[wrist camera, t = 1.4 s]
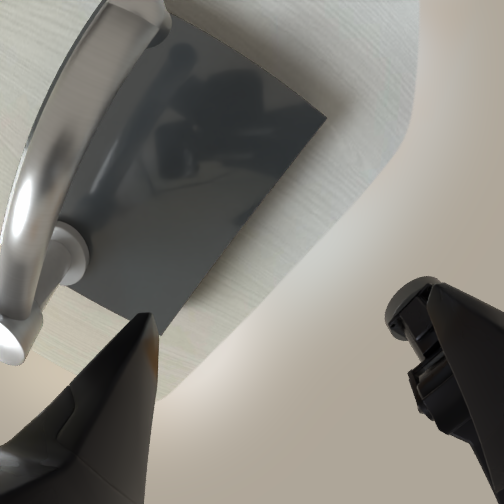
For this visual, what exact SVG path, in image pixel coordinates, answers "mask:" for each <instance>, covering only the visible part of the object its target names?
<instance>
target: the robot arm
mask: <svg viewBox="0 0 504 504" xmlns="http://www.w3.org/2000/svg"><path fill="white" fill-rule="evenodd" d="M388 327H389V328H390V329H391V330H393V331H394V332H396V333H398V334H399V335H401V336H402V337H404V338H406V339H407V340H408V341H409V343H410V344H411V346H412V348H413V349H414V351H415V353H416V354H417V356H418V358H419V360H420V361H421V363H420V364H419V365H418V366H416V367H415V368H414V369H413V370H410V371H409V372H408V376H409V382H410V385H411V388H412V390H413V393H414V396H415V399H416V402H417V406H418V411H419V412H420V413H422V414H425V415H426V416H427V417H428V418H429V419H430V420H432V421H435V423H436V425H437V427H438V429H439V430H440V431H442V432H443V433H445V434H447V435H452V436H454V437H456V438H458V439H460V440H463V441H465V442H467V443H469V444H470V446H471V447H472V449H473V451H474V453H475V455H476V457H477V459H478V461H479V463H480V465H481V466H482V469H483V471H484V473H485V475H486V477H487V480H488V481H489V484H490V486H491V488H492V490H493V492H494V495H495V497H496V499H497V501H498V503H499V504H504V312H502V311H500V310H498V309H496V308H494V307H493V306H491V305H489V304H487V303H485V302H483V301H481V300H479V299H477V298H475V297H473V296H471V295H469V294H467V293H464V292H463V291H460V290H459V289H456V288H454V287H452V286H450V285H448V284H446V283H437V284H434V285H432V284H431V283H427V284H426V285H425V286H424V287H423V288H422V289H421V290H420V291H419V292H418V293H417V294H416V295H415V296H414V297H413V298H412V299H411V300H410V301H409V302H408V303H407V305H406V306H405V307H404V308H403V309H402V310H401V311H400V312H399V313H398V314H397V315H396V316H395V317H394V318H393V319H392V320H390V321H389V323H388ZM158 353H159V334H158V330H157V327H156V323H155V320H154V316H153V314H152V313H150V312H143V313H138V314H137V315H136V316H135V317H134V318H133V319H132V320H131V321H130V322H129V323H128V324H127V325H126V326H125V327H124V328H123V329H122V330H121V331H120V332H119V333H118V334H117V335H116V336H115V337H114V338H113V339H112V340H111V341H110V342H109V343H108V344H107V345H106V346H105V347H104V348H103V349H102V350H101V351H100V352H99V353H98V354H97V355H96V356H95V357H94V359H93V360H92V361H91V362H90V363H89V364H88V365H87V366H86V367H85V368H84V369H83V370H82V371H81V372H80V373H79V374H78V375H77V376H76V377H75V378H74V380H73V381H72V382H71V383H70V384H69V385H70V386H67V387H66V388H65V389H64V390H63V391H62V392H61V393H60V394H59V395H58V396H57V397H56V398H55V399H54V400H53V402H51V404H50V405H49V406H47V407H46V408H45V409H44V410H43V411H42V412H41V413H40V414H39V415H38V416H37V417H36V418H34V419H33V420H32V421H31V422H30V423H29V424H28V425H27V426H25V427H24V428H23V429H22V430H21V431H20V432H19V433H18V434H17V435H16V436H14V437H13V438H12V439H11V440H10V441H8V442H7V443H5V444H4V445H1V446H0V504H144V495H145V483H146V472H147V462H148V452H149V444H150V435H151V426H152V419H153V411H154V404H155V398H156V391H157V381H158Z"/></svg>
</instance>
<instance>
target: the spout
mask: <svg viewBox="0 0 504 504" xmlns="http://www.w3.org/2000/svg"><path fill="white" fill-rule="evenodd" d="M171 26H172V20H171V16H170V14H169V12H168V11H167V10H166V6H165V3H164V0H107V1H106V2H105V4H104V5H103V6H102V8H101V9H100V11H99V12H98V13H97V15H96V16H95V18H94V19H93V21H92V22H91V24H90V25H89V27H88V28H87V30H86V32H85V33H84V35H83V36H82V38H81V40H80V41H79V43H78V44H77V46H76V48H75V50H74V51H73V53H72V55H71V56H70V58H69V60H68V62H67V64H66V65H65V67H64V69H63V71H62V73H61V75H60V77H59V79H58V81H57V83H56V85H55V87H54V89H53V91H52V93H51V95H50V97H49V99H48V101H47V103H46V106H45V108H44V110H43V112H42V115H41V117H40V119H39V122H38V124H37V127H36V129H35V132H34V134H33V137H32V139H31V142H30V145H29V147H28V150H27V153H26V156H25V159H24V161H23V164H22V167H21V171H20V174H19V177H18V180H17V184H16V187H15V190H14V194H13V198H12V201H11V205H10V209H9V213H8V217H7V222H6V226H5V231H4V236H3V241H2V246H1V251H0V361H2V362H3V363H6V364H8V365H14V366H18V365H21V364H22V363H24V361H25V359H26V357H27V355H28V353H29V351H30V349H31V347H32V345H33V343H34V341H35V339H36V338H37V336H38V334H39V332H40V330H41V328H42V326H43V315H42V312H41V310H40V308H39V306H38V304H37V303H36V301H35V300H34V296H35V292H36V288H37V284H38V280H39V276H40V273H41V269H42V266H43V262H44V259H45V256H46V252H47V249H48V246H49V243H50V240H51V237H52V234H53V231H54V228H55V225H56V222H57V219H58V217H59V214H60V211H61V209H62V206H63V203H64V201H65V198H66V196H67V193H68V191H69V188H70V186H71V184H72V181H73V179H74V177H75V174H76V172H77V170H78V168H79V165H80V163H81V161H82V159H83V157H84V155H85V152H86V150H87V148H88V146H89V144H90V142H91V140H92V138H93V136H94V134H95V132H96V130H97V128H98V126H99V124H100V123H101V121H102V119H103V117H104V115H105V113H106V112H107V110H108V108H109V106H110V104H111V103H112V101H113V99H114V97H115V96H116V94H117V92H118V91H119V89H120V87H121V86H122V84H123V82H124V81H125V79H126V78H127V76H128V74H129V73H130V71H131V70H132V68H133V67H134V65H135V64H136V62H137V61H138V59H139V58H140V56H141V55H142V53H143V52H144V50H145V49H148V48H152V47H154V46H157V45H158V44H160V43H161V42H162V41H163V40H165V38H166V37H167V36H168V34H169V32H170V30H171Z"/></svg>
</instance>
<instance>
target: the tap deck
mask: <svg viewBox="0 0 504 504" xmlns="http://www.w3.org/2000/svg"><path fill="white" fill-rule="evenodd" d="M106 1H107V0H102V1H101V3H100V4H99V5H98V7H97V8H96V10H95V11H94V12H93V14H92V15H91V17H90V18H89V20H88V21H87V23H86V24H85V26H84V27H83V29H82V31H81V32H80V34H79V35H78V37H77V39H76V40H75V42H74V44H73V45H72V47H71V49H70V50H69V52H68V54H67V56H66V57H65V59H64V61H63V63H62V65H61V67H60V68H59V70H58V72H57V74H56V76H55V78H54V80H53V82H52V84H51V86H50V88H49V90H48V92H47V94H46V97H45V99H44V101H43V103H42V105H41V108H40V110H39V112H38V115H37V117H36V119H35V122H34V124H33V127H32V129H31V132H30V134H29V137H28V140H27V142H26V145H25V148H24V151H23V154H22V157H21V159H20V163H19V166H18V169H17V172H16V175H15V178H14V182H13V185H12V189H11V192H10V196H9V200H8V204H7V208H6V212H5V216H4V221H3V225H2V230H1V235H0V244H1V245H2V241H3V236H4V231H5V226H6V222H7V217H8V213H9V209H10V205H11V201H12V198H13V194H14V190H15V187H16V184H17V180H18V177H19V174H20V171H21V167H22V164H23V161H24V159H25V156H26V153H27V150H28V147H29V145H30V142H31V139H32V137H33V134H34V132H35V129H36V127H37V124H38V122H39V119H40V117H41V115H42V112H43V110H44V108H45V106H46V103H47V101H48V99H49V97H50V95H51V93H52V91H53V89H54V87H55V85H56V83H57V81H58V79H59V77H60V75H61V73H62V71H63V69H64V67H65V65H66V64H67V62H68V60H69V58H70V56H71V55H72V53H73V51H74V50H75V48H76V46H77V44H78V43H79V41H80V40H81V38H82V36H83V35H84V33H85V32H86V30H87V28H88V27H89V25H90V24H91V22H92V21H93V19H94V18H95V16H96V15H97V13H98V12H99V11H100V9H101V8H102V6H103V5H104V4H105V2H106ZM169 14H170V16H171V20H172V26H171V30H170V32H169V34H168V36H167V37H166V38H165V40H163V41H162V42H161V43H160V44H158V45H157V46H154V47H152V48H148V49H145V50H144V52H143V53H142V55H141V56H140V58H139V59H138V61H137V62H136V64H135V65H134V67H133V68H132V70H131V71H130V73H129V74H128V76H127V78H126V79H125V81H124V82H123V84H122V86H121V87H120V89H119V91H118V92H117V94H116V96H115V97H114V99H113V101H112V103H111V104H110V106H109V108H108V110H107V112H106V113H105V115H104V117H103V119H102V121H101V123H100V124H99V126H98V128H97V130H96V132H95V134H94V136H93V138H92V140H91V142H90V144H89V146H88V148H87V150H86V152H85V155H84V157H83V159H82V161H81V163H80V165H79V168H78V170H77V172H76V174H75V177H74V179H73V181H72V184H71V186H70V188H69V191H68V193H67V196H66V198H65V201H64V203H63V206H62V209H61V211H60V214H59V217H58V219H57V222H56V225H55V228H54V231H53V234H52V237H51V240H50V243H49V246H48V249H47V252H46V256H45V259H44V262H43V266H42V269H41V273H40V276H39V280H38V284H37V288H36V292H35V296H34V300H35V301H36V303H37V304H38V306H39V308H40V310H41V312H43V310H44V308H45V307H46V305H47V303H48V302H49V300H50V298H51V297H52V295H53V294H54V292H55V290H56V289H57V287H58V286H59V285H62V286H67V287H69V288H70V289H72V290H74V291H76V292H77V293H79V294H81V295H83V296H85V297H86V298H88V299H90V300H92V301H94V302H95V303H97V304H99V305H101V306H103V307H105V308H106V309H108V310H110V311H112V312H114V313H116V314H118V315H120V316H122V317H124V318H126V319H128V320H130V321H131V320H132V319H133V318H134V317H135V316H136V315H137V314H138V313H143V312H150V313H152V314H153V316H154V320H155V323H156V327H157V330H158V334H159V335H162V334H163V333H164V331H165V330H166V328H167V327H168V326H169V324H170V323H171V322H172V320H173V319H174V318H175V316H176V315H177V313H178V312H179V311H180V309H181V308H182V307H183V305H184V304H185V303H186V301H187V300H188V299H189V297H190V296H191V294H192V293H193V292H194V290H195V289H196V288H197V286H198V285H199V284H200V282H201V281H202V280H203V278H204V277H205V276H206V274H207V273H208V272H209V270H210V269H211V268H212V266H213V265H214V264H215V262H216V261H217V260H218V258H219V257H220V256H221V254H222V253H223V252H224V250H225V249H226V248H227V246H228V245H229V244H230V242H231V241H232V240H233V239H234V237H235V236H236V235H237V233H238V232H239V231H240V229H241V228H242V227H243V225H244V224H245V223H246V221H247V220H248V219H249V218H250V216H251V215H252V214H253V212H254V211H255V210H256V208H257V207H258V206H259V205H260V203H261V202H262V201H263V199H264V198H265V197H266V196H267V194H268V193H269V192H270V190H271V189H272V188H273V187H274V185H275V184H276V183H277V181H278V180H279V179H280V178H281V176H282V175H283V174H284V172H285V171H286V170H287V169H288V167H289V166H290V165H291V163H292V162H293V161H294V160H295V158H296V157H297V156H298V155H299V153H300V152H301V151H302V150H303V148H304V147H305V146H306V144H307V143H308V142H309V141H310V139H311V138H312V137H313V136H314V134H315V133H316V132H317V131H318V129H319V128H320V127H321V126H322V124H323V123H324V122H325V121H326V119H327V117H326V116H324V115H323V114H322V113H321V112H319V111H318V110H317V109H316V108H315V107H313V106H312V105H311V104H310V103H308V102H307V101H306V100H304V99H303V98H302V97H301V96H299V95H298V94H297V93H295V92H294V91H293V90H291V89H290V88H289V87H287V86H286V85H285V84H283V83H282V82H281V81H279V80H278V79H277V78H275V77H274V76H272V75H271V74H270V73H268V72H267V71H265V70H264V69H262V68H261V67H260V66H258V65H257V64H255V63H254V62H252V61H251V60H249V59H248V58H246V57H245V56H243V55H242V54H240V53H238V52H237V51H235V50H234V49H232V48H231V47H229V46H227V45H226V44H224V43H223V42H221V41H219V40H218V39H216V38H214V37H213V36H211V35H209V34H208V33H206V32H204V31H202V30H201V29H199V28H197V27H195V26H194V25H192V24H190V23H188V22H186V21H184V20H183V19H181V18H179V17H177V16H175V15H173V14H171V13H169Z"/></svg>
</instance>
